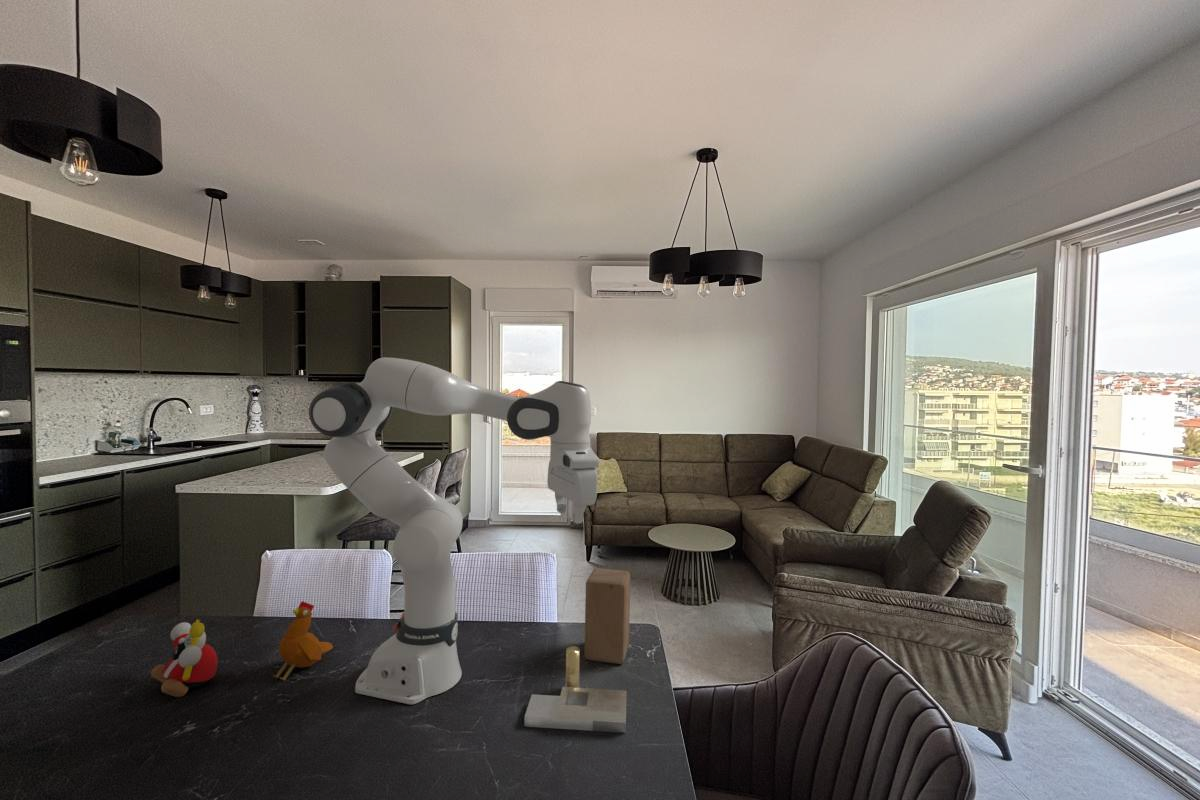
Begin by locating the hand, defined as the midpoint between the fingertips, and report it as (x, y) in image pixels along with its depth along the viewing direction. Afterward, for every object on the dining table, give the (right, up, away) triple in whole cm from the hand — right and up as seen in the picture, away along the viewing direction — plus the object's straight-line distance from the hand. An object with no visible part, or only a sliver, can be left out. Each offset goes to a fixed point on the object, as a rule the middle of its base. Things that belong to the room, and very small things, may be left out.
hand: (569, 517), depth 107 cm
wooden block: (+9, -39, +16) cm, 43 cm away
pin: (+1, -39, 0) cm, 39 cm away
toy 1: (-84, -37, -1) cm, 91 cm away
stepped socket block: (+2, -39, -9) cm, 40 cm away
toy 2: (-63, -37, +7) cm, 74 cm away
